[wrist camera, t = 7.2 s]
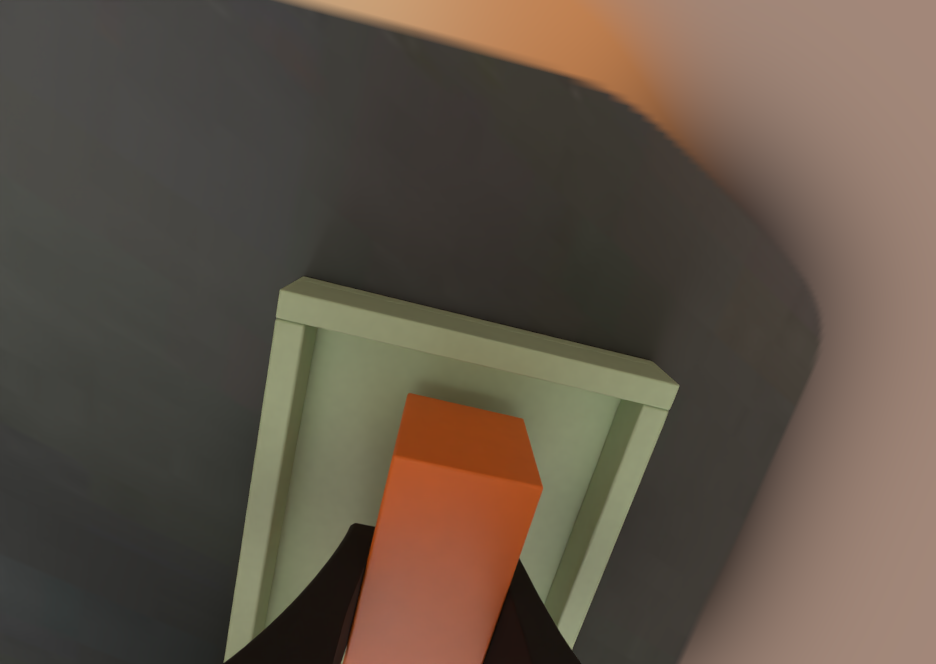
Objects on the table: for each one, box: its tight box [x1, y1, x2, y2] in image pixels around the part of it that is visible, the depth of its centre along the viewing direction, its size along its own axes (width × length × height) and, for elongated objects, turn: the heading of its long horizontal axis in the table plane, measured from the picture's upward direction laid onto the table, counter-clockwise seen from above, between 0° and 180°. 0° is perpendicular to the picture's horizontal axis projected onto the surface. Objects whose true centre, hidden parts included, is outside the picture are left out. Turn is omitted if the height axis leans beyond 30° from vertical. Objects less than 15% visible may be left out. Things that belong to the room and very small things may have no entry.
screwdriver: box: [343, 393, 543, 664], centre depth 14 cm, size 15×3×3 cm, turn 166°
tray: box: [224, 277, 679, 664], centre depth 16 cm, size 20×11×2 cm, turn 166°
